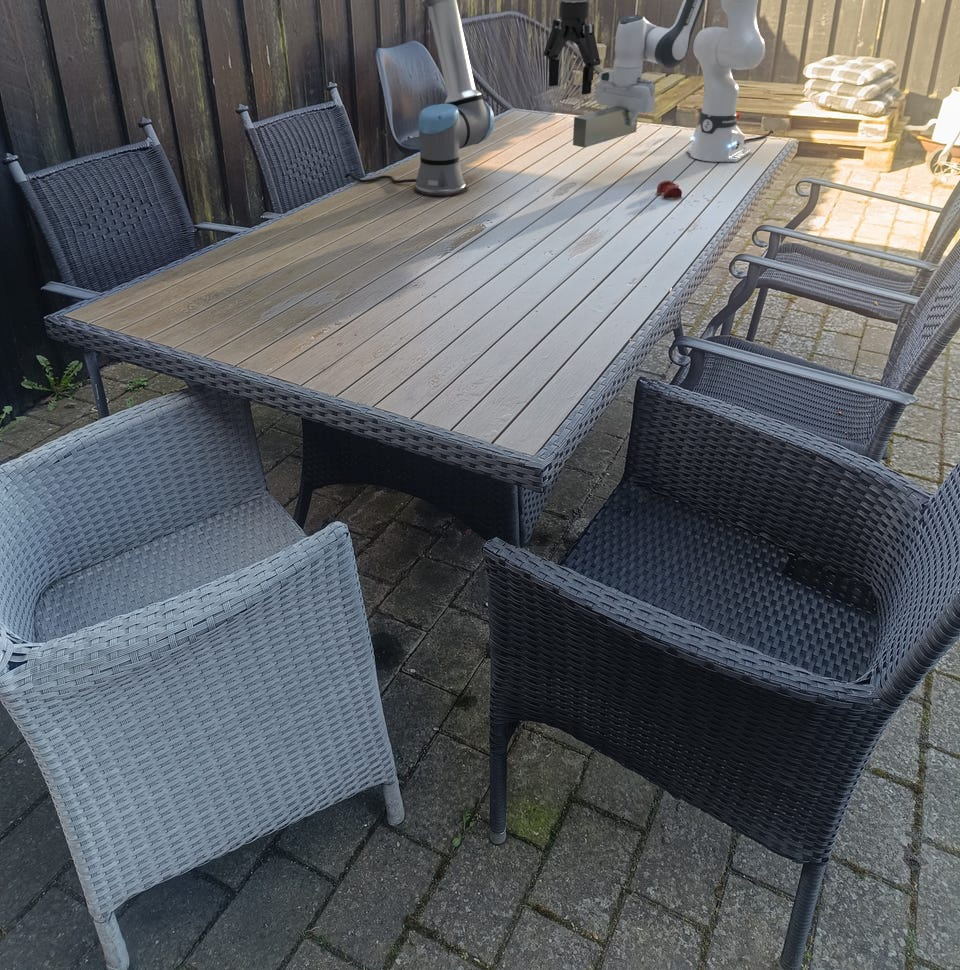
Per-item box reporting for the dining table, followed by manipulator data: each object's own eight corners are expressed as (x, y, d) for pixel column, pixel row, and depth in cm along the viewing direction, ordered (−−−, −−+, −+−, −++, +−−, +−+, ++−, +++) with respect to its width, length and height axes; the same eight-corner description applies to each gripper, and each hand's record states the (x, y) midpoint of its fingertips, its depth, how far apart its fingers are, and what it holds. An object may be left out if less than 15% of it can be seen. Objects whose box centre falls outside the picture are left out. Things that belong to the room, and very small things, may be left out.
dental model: (673, 176, 254) (684, 184, 248) (671, 190, 257) (683, 198, 251) (655, 178, 253) (666, 186, 247) (654, 192, 256) (665, 200, 250)
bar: (584, 147, 253) (586, 119, 248) (572, 145, 256) (574, 117, 251) (636, 132, 268) (638, 105, 263) (624, 129, 270) (626, 102, 266)
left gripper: (618, 4, 212) (611, 95, 224) (554, -5, 228) (550, 81, 241) (596, 6, 208) (590, 99, 221) (532, -3, 225) (530, 84, 237)
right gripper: (661, 78, 253) (656, 127, 261) (607, 70, 265) (604, 117, 273) (649, 82, 249) (644, 131, 257) (594, 73, 261) (591, 120, 269)
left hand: (569, 89), depth 231 cm, fingers open, 13 cm apart
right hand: (623, 124), depth 265 cm, fingers closed on bar, 4 cm apart
